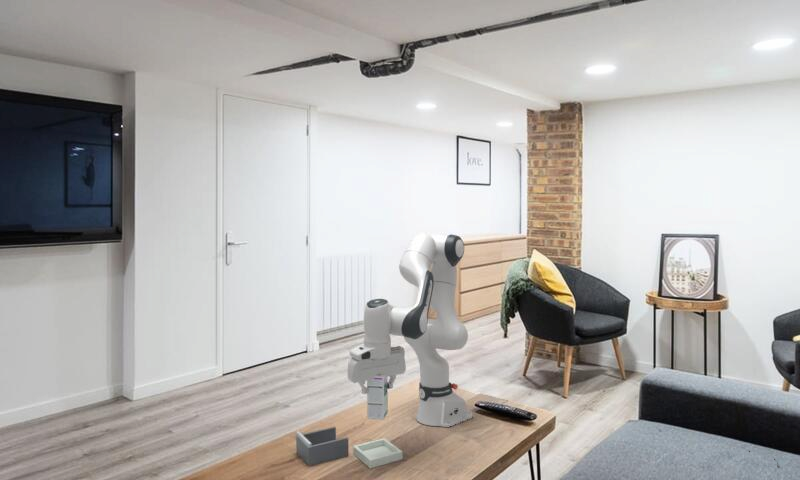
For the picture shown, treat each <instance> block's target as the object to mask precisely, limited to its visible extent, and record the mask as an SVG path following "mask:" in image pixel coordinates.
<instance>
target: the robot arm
mask: <svg viewBox="0 0 800 480" xmlns="http://www.w3.org/2000/svg"><path fill="white" fill-rule="evenodd" d="M464 252H465V243H464V241H463V239H462V238H461V236H459V235H456V234H451V233H450V234H443V233H442V234H441V233H440V234H439V233H436V234H430V235H429V234H427V233H417V234H416V235H415V236H413V238H412V239H411V240H410V242H409V243H408V245H407V246H406V248H405V250H404V252H403V254H402V256H401V258H400V259H399V260H400V261H399V264H398V265H399V266H398V268H399V273H400V275H401V276H402V278H403V280H405V281H406V282H407V283H409V284H410V285H413V286H415V287H416V288H417V294H416V299H415V303H414V305H413V306H410V307H404V306H396V305H392V304H390V302H389V301H388V300H387V299H385V298H374V299H371V300H369V301H367V302H366V304H365V308H364V314H363V329H364V330H363V331H364V337H363V343H361V344H359V345H357V346H355V347H354V348H351V349H350V350H349V356H350V359H349V360H348V365H347V378H348V380H349V382H351V383H353V384H355V383H356V384H357V383H358V384H359V387H360V388H361V394H363V395H367V393H368V388H367V386H365V385H366V382H367V380H372V379H374V378H375V375H382V374H385V376H386V377H387V378H388V377H389V380H388V381H387V390H391V389H393V388H394V383H395V381H396V378H397V376H398V375H402V374H405V372H406V369H407V366H406V359H405V354H406V353H405V348H404V347H402V346H401V345H397V346H391V345H392V341H391V340H392V339H391V335H392V336H399V337H403V339H404V341H405V342H406V343H407V344H408V345H409V346H410V347H411V348H412V350H413V351H414V352H415V355H416V357H417V359H418V362H419V363H418V364H419V372H420V373H419V374H420V375H419V378H420V379H419V383H418V384H419V388H418V392H419V402H418V403H419V404H418V409H417V413H416V416H415V419H416V421H417V422H419V423H420V424H422V425H426V426H431V427H442V428H450V426H451V427H452V426H455V424H456V425H459V424H460V422H461V423H463V422H465V421H468V420H470V419H473V418H472V417H474V416H473V412H472V411H470V410H469V409H468V406H467V404H466V401H465V400H464V398H463V397H462V396H460V395H458V394H457V393H456V392H454V391H453V390H455V391H456V390H458V388H459V385H458V384H456V383H451V382H450V366H449V365H450V364H449V363H448V361H447V359H446V358H444V357H442V356H441V355H440V353H438V350H445V351H455V350H462V349H463V348H464V347H465V346H466V345H467V343H468V337H469V333H468V330H467V328H466V326H465V324H463V323H462V321H460V318H459V317H458V316H457V313H456V309H455V298H456V289H457V279H458V278H457V276H458V271H457V268H458V267H457V265H458V263H459V262H460V261H461V260H462V258H463V257H464V254H465V253H464ZM430 309H431V310H433V311H434V312H435V313H436V319H435V318H434V319H433V318H429V311H430ZM467 419H468V420H467ZM462 421H463V422H462Z"/></svg>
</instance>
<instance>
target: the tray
mask: <svg viewBox="0 0 800 480" xmlns="http://www.w3.org/2000/svg"><path fill="white" fill-rule="evenodd" d="M352 447H353V448H352V454H353V455H354V456H356V457H357V459H358V460H360V461H361V462H362V463H364V464H365V465H366V466H367V467H368V468H369V469H373V468H377V467H380V466H384V465H387V464H391V463H395V462H398V461H402V460H403V451H402V450H401V449H400V448H398V447H397V446H396V445H394V444H393V443H391V442H390V441H389V440H388V439H386V438H380V439H376V440H372V441H368V442H364V443H360V444H356V445H353V446H352Z"/></svg>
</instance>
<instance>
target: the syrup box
mask: <svg viewBox="0 0 800 480" xmlns="http://www.w3.org/2000/svg"><path fill="white" fill-rule="evenodd" d="M387 382H388V377H386V376H385V374H382V375H375V378H374V379H372V380H367V381H366V387H367V388H368V393H367V394H366V398H367V399H366V417H367V419H371V420H378V421H379V420H380V421H384V420H385V418H386V417H387V415H388V408H389V407H388V404H389V403H388V397H389V396H388V394H389V392H388V388H387Z"/></svg>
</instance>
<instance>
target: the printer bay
mask: <svg viewBox="0 0 800 480" xmlns="http://www.w3.org/2000/svg"><path fill="white" fill-rule="evenodd" d="M295 435H296V436H295V437H296V438H295V439H296V441H295V442H296V445H295V446H296V450H295V451H296V454H297V455H298V456H299V457H300V458H301V460H303V462H304V463H305V464H306V465H307V466H308V467H310V466H314V465H319V464H323V463H326V462H330V461H332V460H337V459H340V458H344V457H348V456H349V437H348V436H345V437H341V438H338V439H337V428H336V426H334V425H333V426H331V427H327V428H322V429H317V430H313V431H309V432H305V433H301V432H300V431H299V430H298V431H296V433H295Z"/></svg>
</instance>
